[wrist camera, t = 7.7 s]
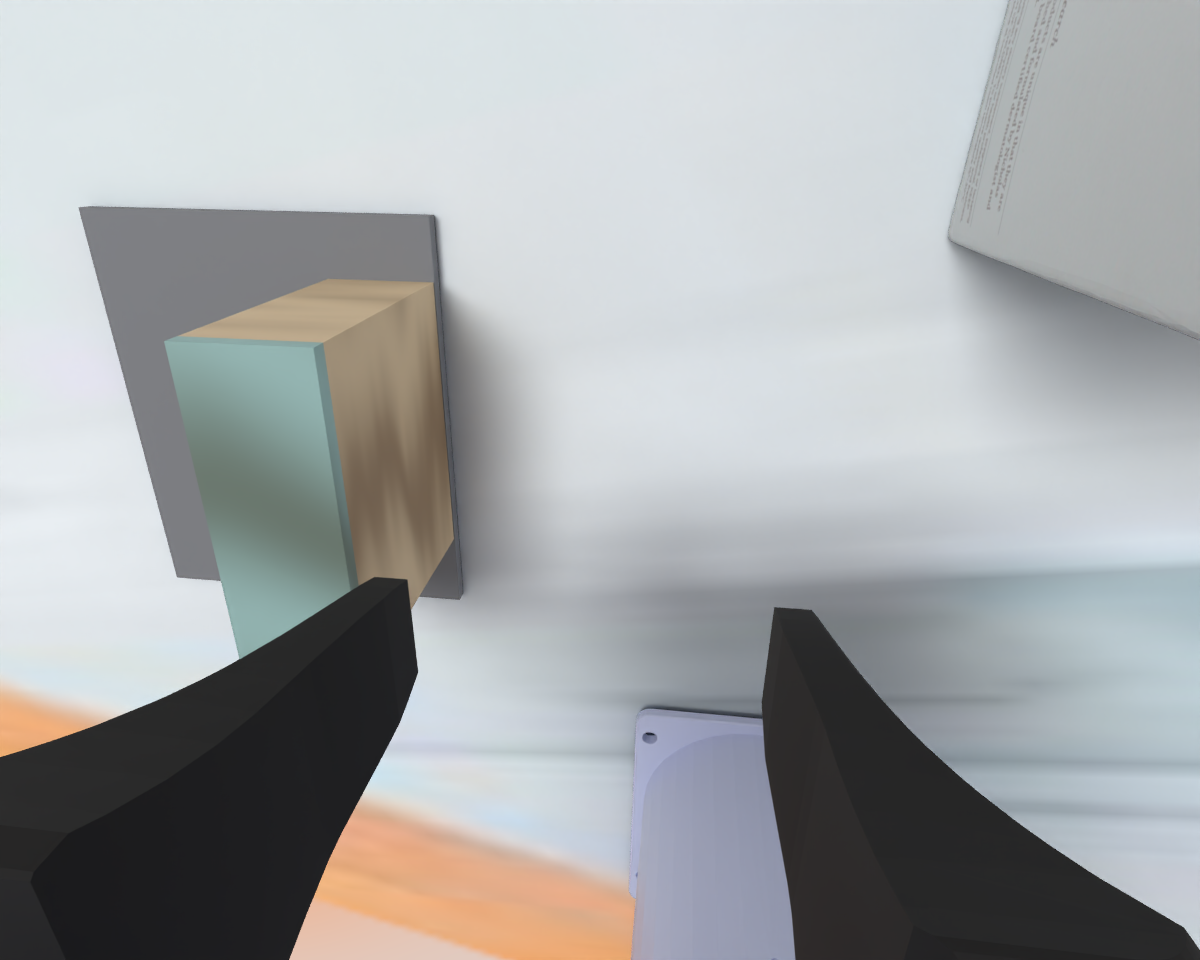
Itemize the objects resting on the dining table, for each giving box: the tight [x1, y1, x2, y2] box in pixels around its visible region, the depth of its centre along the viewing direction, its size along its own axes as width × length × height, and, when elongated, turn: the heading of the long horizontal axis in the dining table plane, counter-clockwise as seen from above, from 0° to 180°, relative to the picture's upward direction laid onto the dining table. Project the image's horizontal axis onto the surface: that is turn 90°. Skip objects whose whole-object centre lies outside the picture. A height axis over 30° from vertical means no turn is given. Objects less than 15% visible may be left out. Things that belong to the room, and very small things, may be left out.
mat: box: [79, 206, 463, 600], centre depth 23 cm, size 12×10×1 cm
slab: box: [164, 279, 454, 659], centre depth 19 cm, size 8×3×7 cm, turn 179°
